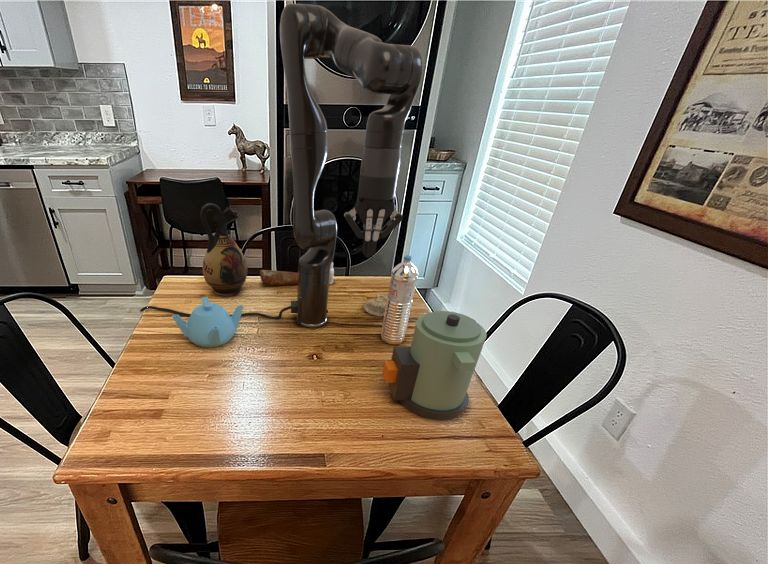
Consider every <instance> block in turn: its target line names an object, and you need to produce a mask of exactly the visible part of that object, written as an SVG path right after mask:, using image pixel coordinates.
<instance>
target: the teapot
mask: <svg viewBox="0 0 768 564" xmlns="http://www.w3.org/2000/svg"><path fill="white" fill-rule="evenodd" d="M201 302H202V303H201V304H199V305H197V306H196V307H194V309H193V310H192V311H191V313H190V314H191V315H190V316H188V319H187V322H186V320H184V318H182V317H181V315H179V314H172V319H173V320H174V322H175V324H176V325H177V327H178V328H179V330H180V331H181V333H182V334H183V335H184V337H187V339H188V340H189V341H190V342H191V343H192V344H194V345H196V346H198V347H201V348H217V347H221V346H223V345H225V344H227V343H228V342H230V340H231V339H232V338H233V337H234V335H235V333H236V330H237V329H238V327H239V324H240V320H241V317H242V316H241V314H242V313H243V310H244V306H243V304H242V305H236V308H235V309H234V311H233V312H232V314H230V313H229V312H228V311H227V310H226V309H225V308H224V307H223V306H222V305H221V304H218V303H213V302H210V299H209V297H208V296H206V297H205V296H204V297H201ZM230 315H232V316H230Z"/></svg>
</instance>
